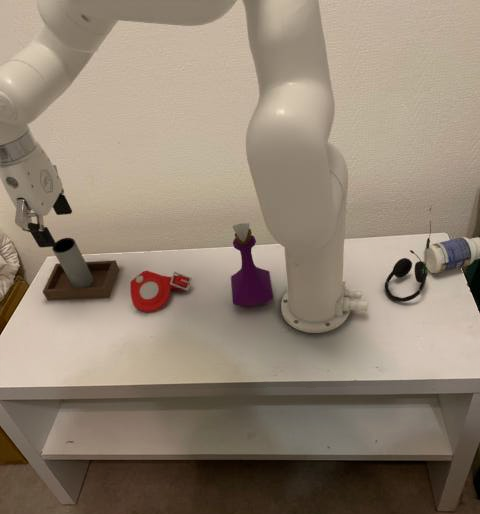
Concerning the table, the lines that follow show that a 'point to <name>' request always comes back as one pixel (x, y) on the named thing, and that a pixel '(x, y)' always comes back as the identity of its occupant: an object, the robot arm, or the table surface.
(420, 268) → the headset
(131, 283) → the tracker holder
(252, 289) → the perfume bottle
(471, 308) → the table surface
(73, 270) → the gray hollow tube
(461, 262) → the pill bottle
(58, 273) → the shelf tray
